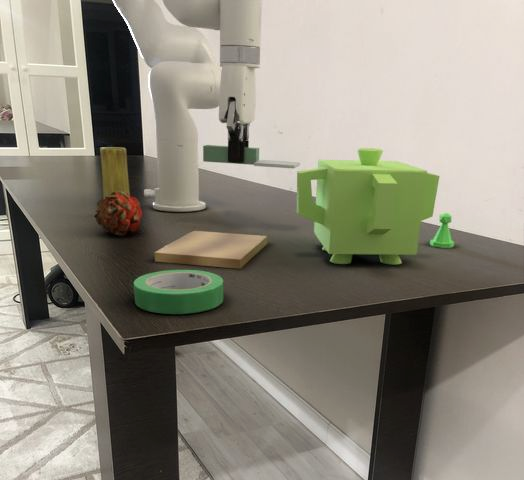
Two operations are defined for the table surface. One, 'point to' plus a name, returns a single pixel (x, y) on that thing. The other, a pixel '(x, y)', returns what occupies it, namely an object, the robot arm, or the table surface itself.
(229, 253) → the cutting board
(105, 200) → the dragon fruit
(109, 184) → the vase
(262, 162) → the spatula
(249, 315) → the table surface
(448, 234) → the game piece
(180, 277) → the tape roll
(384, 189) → the green handled cubic container
